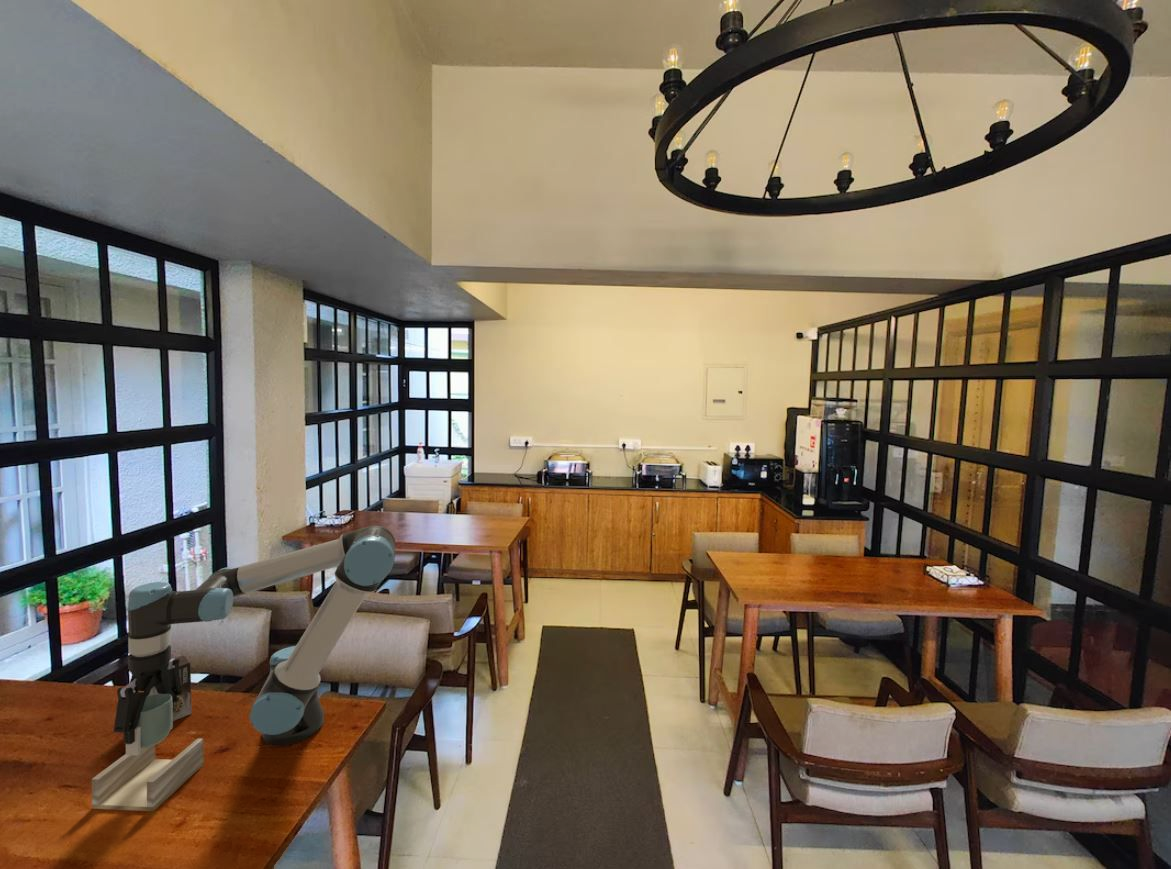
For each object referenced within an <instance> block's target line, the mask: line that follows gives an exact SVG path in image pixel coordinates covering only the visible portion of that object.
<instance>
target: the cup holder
mask: <svg viewBox="0 0 1171 869" xmlns="http://www.w3.org/2000/svg"><path fill="white" fill-rule="evenodd" d="M155 757H156V745H154V746H152V747H149V748H141V753H140V754H139V755H138V756H136V755H126V753H125V754H124V755H122V756H121V757H119V758H118V759H117V760H116V761H114V762H113V763H112V764H110V765H109V766H107V767H106V768H104V769H103V770H102V771H101V772H100V773H98V774H97V775H95V776H94V777H92V779H91V809H93V810H94V809H95V810H111V811H112V810H114V811H115V810H116V811H117V810H118V811H119V810H120V811H139V812H140V811H141V812H154V811H155V810H157V808H159V806H161V805H162V804H163V803H164V802H165V801H166V800H167V799H169V797H170V796H172V795H173V794H174V793H175V792H176V791H178V789H179V788H180V787H181V786H182V785H184V784H185V783H186V782H187V781H188V780H189V779H190V778H191V777H192V776H193V775H194V774H195V773H196V772H198V770H200V769H201V768H202V767H203V766H204V738H200V737H199V738H196V739H195V740H194V741H192V742H191V744H190V745H189V744H188V746H187V747H186V748H185V749H183V750H182V751H181V752H180V753H179V754H177V756H175V757H174V758H172V759H164V758H163V759H161V758H160V759H159V758H155Z"/></svg>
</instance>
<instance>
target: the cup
mask: <svg viewBox="0 0 1171 869" xmlns="http://www.w3.org/2000/svg"><path fill="white" fill-rule="evenodd" d="M172 715H173V700H172V696H171V695H170V694H159V693H156V694H151V695H148V696H147V697H146V700H145V703H144V706H143V709H142V712H141V714H140V718H139V721H138V725H137V726H141V748H149V747H152V746H154V745H155V746H156V745H158V744H160V743H161V742H163V741H164V740H165V739H166V738H167V737H168V735H169V734H170V731H171V730H172V729H171V725H172ZM130 724H131V723H130ZM170 729H171V730H170Z"/></svg>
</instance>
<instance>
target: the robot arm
mask: <svg viewBox="0 0 1171 869" xmlns="http://www.w3.org/2000/svg"><path fill="white" fill-rule="evenodd" d="M396 543H397V542H396V538H395V537H394V534H393V533H392V532H391V531H390V530H389V529H388V528H386V527H384V526H380V525H371V526H370V525H369V526H366V527H365V526H364V527H362V528H358V529H355V530H353V531H349V532H346V533H343V534H341V535H340V536H339V538H337V539H334V540H330V541H327V542H323V543H319V544H315V545H312V546H309V547H308V546H307V547H305V548H302V549H298V550H295V551H290V552H288V553H285V554H284V553H283V554H281V555H277V556H273V557H270V558H266V559H262V560H259V561H256V562H252V563H249V564H244V565H241V566H237V567H230V566H229V567H227V566H226V567H224V568H220V569H219V570H217V571H215V572H213V573H212V574H210V576H209V577H208V578H207V579H205V581H204V582H203V583H201V584H200V585H199V586H198V587H196V589H190V590H182V591H181V590H176V591H175V590H174V591H173V588H172V586H171V584H170V583H169V582H167V581H166V582H164V581H155V582H148V583H145V584H141V585H139V586H137V587H134V588H133V589H131V591H130V592H129V593H128V602H127V603H128V604H127V609H126V611H127V621H128V622H127V623H128V625H127V627H128V635H127V636H128V639H127V641H128V642H127V643H128V644H127V647H128V654H129V655H128V656H127V662H128V664H127V667H128V668H127V670H128V671H129V672H130V674H131V677H130V680H129V683H128V684H127V685H125V686H124V687H123V686H122V687H119V688H117V690H116V693H117V694H116V695H117V706H116V713H115V719H114V726H113V733H118V734H123V744H124V745H125V754H126V755H136V756H138V755H139V754H140V753H141V726H137V725H138V721H139V718H140V714H141V712H142V709H143V706H144V703H145V700H146V697H147V696H148V695H149V694H150V691H151V689H152V688H153V687H155V688H156V690H157V692H158V693H159V694H170V695H171V696H172V700H173V712H174V702H177V701H178V700H179V697H177V696H178V695H181V693H182V687H181V681H180V675H179V668H178V667H179V659H174V658H172V646H171V644H172V625H176V624H177V625H178V624H188V623H189V624H190V623H200V622H201V623H202V622H207V623H209V622H214V621H219V620H224V619H225V618H227V617H228V616H229V615H230V613H231V610H233V606H234V605H233V604H234V598H236V597H240V596H242V595H246V594H248V593H251V592H255V591H258V590H262V589H266V588H269V587H272V586H275V585H279V584H282V583H286V582H288V581H292V580H296V579H299V578H304V577H306V576H309V575H312V574H316V573H320V572H322V571H326V570H330V569H334V568H336V567H337V568H336V570H335V571H334V576H335V582H334V584H333V585H332V588H331V589H330V591H329V592H328V593H327V595H326V597H325V598H324V600H323V602H322V604H321V605H320V606H319V608H318V610H317V612H316V613H315V615H314V617H313V618H312V619H311V620H310V623H309V625H308V626H307V627H306V629H305V631H304V632H303V634H302V636H301V637H300V638H299V641H298V642H297V644H296V645H293V646H288V647H285V648H282V649H279V650H277V651H276V652H274V653H272V655H271V656H270V659H269V670H270V671H269V675H268V676H267V679H266V680H265V682H264V684H263V686H262V688H261V690H260V692H259V694H258V695H257V697H256V699H255V700H254V701H253V703H252V705H251V709H250V713H249V720H250V723H251V725H252V727H253V728H254V729H255V730H256V731H257V732H259V733H261V736H262V740H263V742H265V743H266V744H267V745H270V746H277V747H280V746H288V745H293V744H296V743H299V742H302V741H304V740H306V739H308V738H310V737H311V736H313V735H314V734H315V733H317V732H318V731H319V730H320V729H321V727H322V726H323V724H324V721H325V719H324V718H325V713H324V709H323V707H322V704H321V701H320V698H319V697H318V686H319V685H320V683H321V679H322V678H321V675H320V672H321V670H322V669H323V667H324V665H325V663H326V662H327V660H328V659H329V656H330V655H331V654H332V653H333V650H334V648H336V645H337V644H338V642H339V641H340V639H341V637H342V636H343V634H344V632H345V631H346V629H347V628H348V626H349V624H350V622H351V620H352V619H353V618H354V615H355V614H356V612H357V611H358V609H359V607H361V604H362V603H363V601H364V599H365V598H366V596H367V595H368V594H372V593H375V592H376V591H377V589H378V587H379V586H380V584H381V582H383V580H384V579H385V578H386V577H387V576H388V575H389V574H390V573H391V570H392V569H393V567H394V564H395V559H396V558H395V557H396V554H395V551H396V545H397V544H396ZM174 689H176V690H174ZM130 723H131V724H130ZM173 723H174V721H173V715H172V725H171V729H170V731H171V730H173V729H174V728H173V727H174V726H173V725H174V724H173ZM319 728H320V729H319ZM316 731H317V732H316ZM312 734H313V735H312ZM309 736H310V737H309ZM307 737H308V738H307Z"/></svg>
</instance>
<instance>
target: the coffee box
mask: <svg viewBox="0 0 1171 869" xmlns="http://www.w3.org/2000/svg"><path fill="white" fill-rule="evenodd" d="M173 659H179V667H178V668H179V675H180V681H181V687H182V693H181V695H178V696H177V697H179V700H178V701H177V702H174V712H173V722H175V721H177V720H179V719H182V718H184V717H186V716H189V715H191V714H192V713H193V712H192V676H191V671H192V670H191V669H192V664H191V661H190V660H189V659H188V657H186V656H185V655H181V656H177V657H174V658H173ZM174 690H176V689H174ZM156 693H158V692H157V690H156V688H155V687H153V688H152V689H151V691H150V694H149V695H151V694H156Z"/></svg>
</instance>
